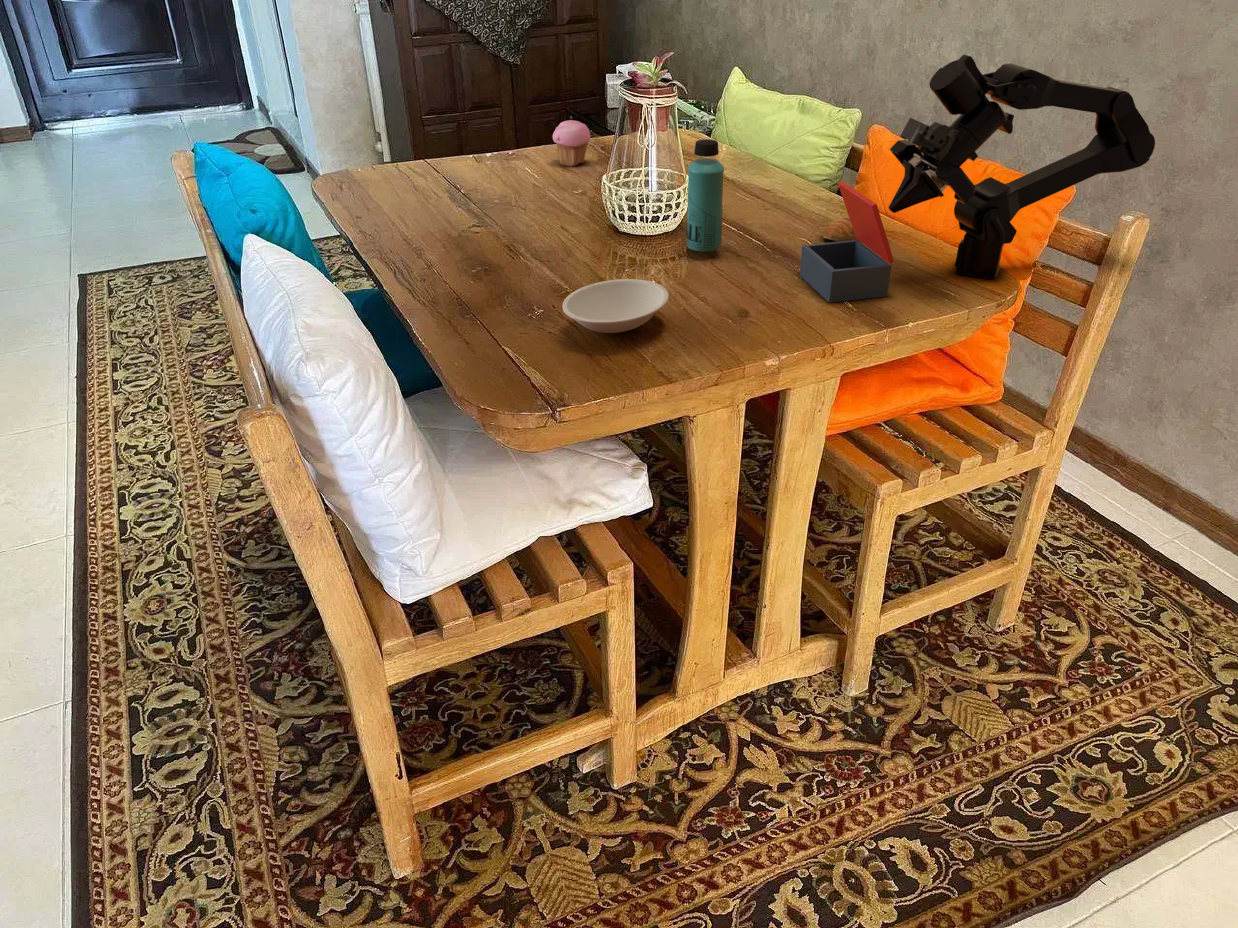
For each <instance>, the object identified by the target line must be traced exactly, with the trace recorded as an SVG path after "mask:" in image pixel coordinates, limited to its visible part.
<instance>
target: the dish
mask: <svg viewBox="0 0 1238 928" xmlns="http://www.w3.org/2000/svg"><path fill="white" fill-rule="evenodd" d="M669 298H670V295H669V291H668V290H667V289H666V288H665V287H664V286H663V285H660V284H659V283H656V282H654V281H650V280H645V279H638V278H637V279H635V278H618V279H610V280H603V281H599V282H595V283H591V284H588V285H585V286H583V287H580V288H578V289H576V290H574V291H573V292H571V293H570V294H569V295H567V296H566V297H565V298H564V300H563V302H562V311H563V313H564V314H565V315H566V316H567V317H568V318H570V319H573V320H574V321H575V322H576V323H577V324H579V325H580V326H582V327H584V328H586V329H588V330H591V331H593V332H597V333H603V334H618V333H624V332H628V331H631V330H635V329H636V328H638V327H641V326H642V325H644V324H645V323H647V322H648V321H649V320H650V319H652V318H653V317H655V315H656V314H657V313H658V311H659V310H661V309H662V308H664V307H665V305H666V304H667V303H668V301H669Z"/></svg>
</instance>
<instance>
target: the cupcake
mask: <svg viewBox="0 0 1238 928" xmlns="http://www.w3.org/2000/svg"><path fill="white" fill-rule="evenodd" d="M591 139H592V138H591V132H590V129H589V127H588V126H587V125H586V124H585V123H583V122H581V121H579V120H574V119H569V120H564V121H562V122H560V123H559V124H558V126H556V127H555V130H554V131H553V133H552V140H553V142H554V144H556V148H557V153H558V154H557V155H558V161H559V163H560V164H561V165H563V166H568V167H570V166H571V167H575V166H577V165H579V164H583V163H584V162H585V157H586V153H587V147H588V145H589V142H591Z"/></svg>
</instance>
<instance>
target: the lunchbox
mask: <svg viewBox="0 0 1238 928" xmlns="http://www.w3.org/2000/svg"><path fill="white" fill-rule="evenodd" d="M891 271H892V264H891V263H888V262H887V261H886V260H884V259H883V258H882V257H880V256H879V255H878V254H876V253H875V252H874V251H872V250H871V249H870V248H868V247H867V246H866V245H865V244H863V243H862V242H861V241H859V240H851V241H841V242H837V241H832V242H821V243H820V242H819V243H810V244H802V245H801V254H800V265H799V273H798V275H799V276H800V277H801V278H802V279H803V280H804V281H805V282H807V284H808V285H810V286H811V287H812V288H813V289H814V290H815V291H816V292H817V293H818V294H819V295H820V296H821V297H822V298H823V299H824V300H825V301H826V302H827V303H839V302H850V301H858V300H868V299H877V298H878V299H879V298H885V297H888V293H889V292H888V291H889V284H890V280H891V279H890V278H891Z"/></svg>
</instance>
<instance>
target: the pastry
mask: <svg viewBox="0 0 1238 928" xmlns="http://www.w3.org/2000/svg"><path fill="white" fill-rule="evenodd" d="M823 239H827V240H830V241H832V242H841V241H851V240H858V239H857V238H856V236H855V233H854V230H853V227H852V224H851V221H850V218H849V215H848V214H847V215H844V216H838V217H837V218H835V219H834V220H833V221H832V222H831V223H829V224H828V225H827V226H826V227H825V228H824V230H823ZM858 241H859V240H858Z"/></svg>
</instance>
